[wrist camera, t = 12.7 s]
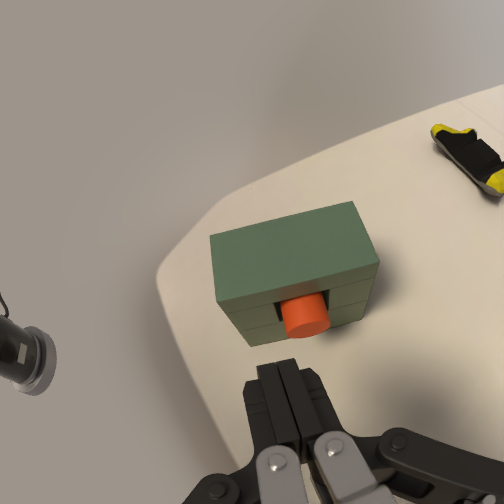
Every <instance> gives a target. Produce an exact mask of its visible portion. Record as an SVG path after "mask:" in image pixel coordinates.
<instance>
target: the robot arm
mask: <svg viewBox="0 0 504 504" xmlns="http://www.w3.org/2000/svg"><path fill="white" fill-rule="evenodd" d="M0 302H1V303H2V305H3V307H4V309H5V312H6V314H5V315H4V316H3V315H0V376H2V377H4V378H6V379H9V380H11V381H14V382H15V383H18V384H20V385H26V384H29V383H30V382H31V381H32V380H33V379H34V378H35V376H36V375H37V373H38V370H39V367H40V364H41V356H42V352H41V345H40V342H39V339H38V338H37V336H36V335H34V334H33V333H31V332H29V331H26V330H24V329H23V328H21V327H19V326H17V325H16V324H14V323H13V322H12V321H11V320H10V319H8V316H9V311H8V308H7V306H6V304H5V302H4V301H3V299H2V297H1V294H0ZM256 367H257V375H258V379H257V380H252V381H246V383H245V387H244V390H243V397H244V402H245V407H246V411H247V416H248V421H249V426H250V430H251V435H252V440H253V444H254V456H253V458H252V460H251V461H250V463H249V464H248V465H247V466H245V467H244V468H242V469H240V470H238V471H236V472H234V473H232V474H230V475H225V474H218V473H217V474H211V475H208V476H206V477H204V478H203V479H202V480H201V481H200V482H199V483H198V484H197V486H196V487H195V488H194V490H193V491H192V492H191V493H190V494H189V496H188V497H187V498H186V499H185V501H184V502H183V503H182V504H309V503H308V499H307V494H306V490H305V485H304V481H303V476H302V471H301V466H300V464H305V463H308V466H309V469H310V472H311V473H310V479H311V482H312V484H313V486H314V489H315V491H316V493H317V495H318V498H319V500H320V502H321V504H398V503H397V502H396V500H395V498H394V496H393V495H395V496H398V497H400V498H403V499H405V500H408V501H411V502H413V503H416V504H504V462H501V461H497V460H494V459H490V458H487V457H484V456H481V455H477V454H474V453H471V452H468V451H465V450H462V449H459V448H456V447H453V446H450V445H447V444H444V443H442V442H439V441H436V440H433V439H431V438H428V437H425V436H423V435H420V434H418V433H415V432H413V431H410V430H407V429H405V428H392V429H389V430H387V431H386V432H385V433H383V435H382V436H377V437H356V436H353V435H351V434H349V433H348V432H346V431H345V430H344V429H343V427H342V426H341V424H340V421H339V419H338V417H337V415H336V412H335V410H334V408H333V406H332V403H331V401H330V399H329V397H328V395H327V392H326V390H325V388H324V386H323V384H322V381H321V379H320V377H319V375H318V374H316V373H315V372H314V371H313V370H312V369H311V368H307V369H302V370H299V368H298V365H297V363H296V360H295V359H294V358H292V359H287V360H283V361H278V362H276V364H275V362H274V363H269V364H264V365H259V366H256ZM299 461H300V462H299ZM392 494H393V495H392Z"/></svg>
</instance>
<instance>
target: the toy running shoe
mask: <svg viewBox="0 0 504 504" xmlns="http://www.w3.org/2000/svg"><path fill="white" fill-rule="evenodd" d="M430 132H431V136H432V138H433V140H434V141H435V143H436V144H437V145H438V147H439V148H441V149H442V150H443V151H444V152H446V153H447V154H448V155H449V156H450V158H451V159H452V160H454V161H455V163H456V165H457V166H459V167H461V168H462V169H463V170H464V171H465V172H466V173H467V174H468V175H469V176H470V177H471V178H472V179H473V180H474V181H475V182H476V183H477V184H479V185H480V186H481V187H482V189H483V190H484V191H485V192H487V193H488V194H490V195H494V196H499V197H502V195H503V194H504V161H503V162H501V159H500V156H499V155H498V154H497V153H496V152H495V151H494V150H493V149H492V148H491V147H490V146H489V145H487V144H486V143H485V142H484V141H483V140H482V139H478V140H477V131H476V129H471V128H468V129H465V130H463V131H461V132H460V131H457V130H455V129H452V128H450V127H447V126H445V125H443V124H435V125H434V126H433V127H432V129H431V131H430Z"/></svg>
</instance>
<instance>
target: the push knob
mask: <svg viewBox="0 0 504 504" xmlns="http://www.w3.org/2000/svg"><path fill="white" fill-rule="evenodd" d="M280 307H281V311H282V316H283V321H284V325H285V330H286V334H287V336H288V337H289V338H306V337H310V336H314V335H317V334H319V333H321V332H323V331H325V330H327V329H328V328H329V327H330V325H331V323H330V320H329V316H328V312H327V309H326V305H325V302H324V298H323V295H322V292H321V291H319V292H315V293H311V294H307V295H303V296H299V297H295V298H291V299H287V300H283V301H280Z"/></svg>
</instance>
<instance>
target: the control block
mask: <svg viewBox="0 0 504 504" xmlns="http://www.w3.org/2000/svg"><path fill="white" fill-rule="evenodd" d="M210 245H211V256H212V266H213V275H214V285H215V294H216V302H217V303H218V305H219V306H220V307H221V309H222V310H223V311H224V313H225V314H226V315H227V317H228V318H229V319H230V321H231V322H232V323H233V324H234V326H235V327H236V328H237V330H238V331H239V332H240V334H241V335H242V336H243V338H244V339H245V340H246V341H247V343H248V344H249V345H250V347H252V346H257V345H261V344H266V343H271V342H275V341H280V340H284V339H288V338H289V337H288V336H287V334H286V330H285V325H284V321H283V316H282V311H281V307H280V301H283V300H287V299H291V298H295V297H299V296H303V295H307V294H311V293H315V292H319V291H321V292H322V295H323V298H324V302H325V305H326V309H327V312H328V316H329V320H330V323H331V325H330V327H329V328H332V327H336V326H340V325H343V324H347V323H351V322H354V321H358V320H361V319H362V316H363V313H364V310H365V307H366V304H367V301H368V298H369V295H370V292H371V288H372V285H373V282H374V279H375V276H376V272H377V269H378V266H379V262H380V261H379V259H378V256H377V254H376V252H375V249H374V247H373V245H372V242H371V240H370V238H369V235H368V233H367V231H366V229H365V227H364V224H363V222H362V220H361V218H360V216H359V214H358V211H357V209H356V207H355V205H354V203H353V201H349V202H345V203H341V204H336V205H332V206H328V207H324V208H319V209H315V210H311V211H307V212H303V213H298V214H294V215H290V216H286V217H282V218H278V219H274V220H270V221H266V222H262V223H258V224H254V225H250V226H246V227H242V228H238V229H234V230H230V231H226V232H222V233H218V234H214V235H210ZM329 328H328V329H329Z"/></svg>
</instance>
